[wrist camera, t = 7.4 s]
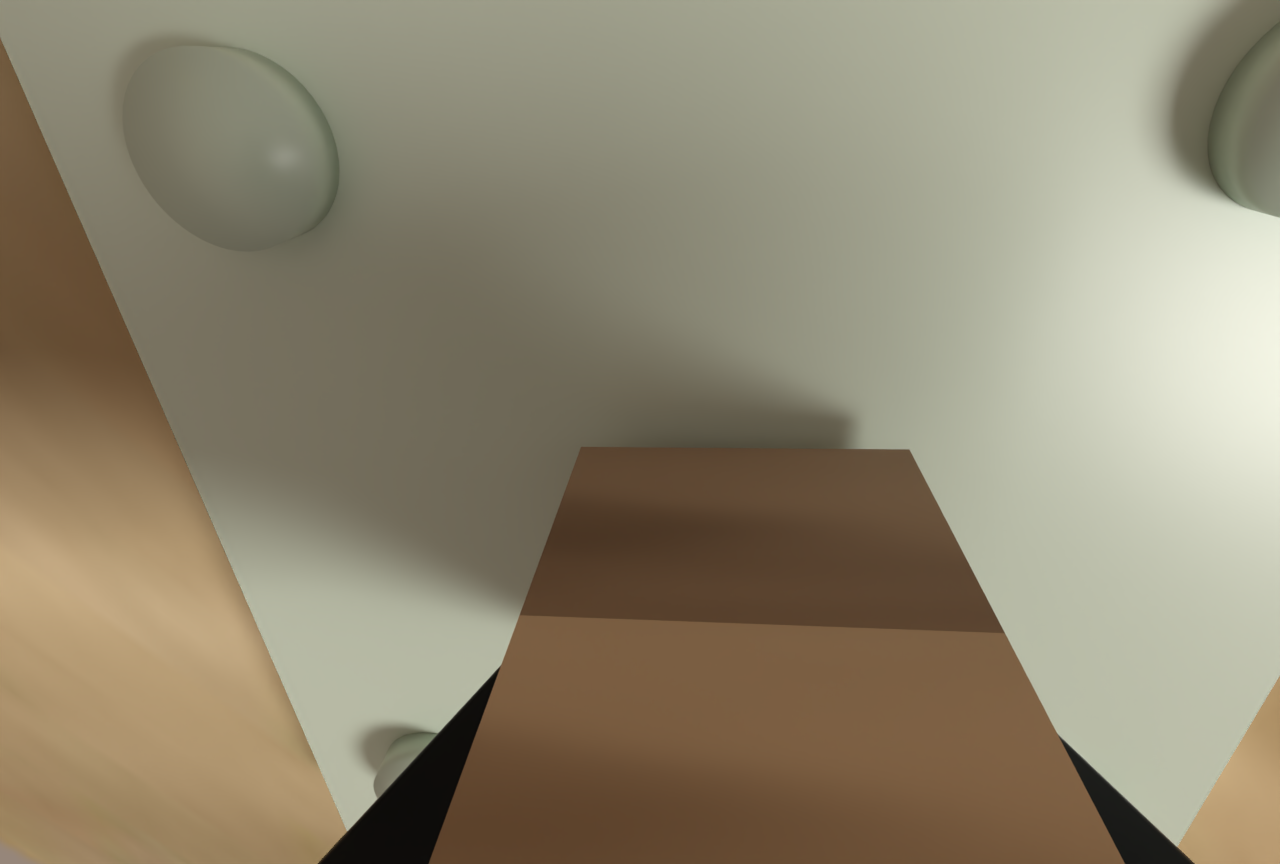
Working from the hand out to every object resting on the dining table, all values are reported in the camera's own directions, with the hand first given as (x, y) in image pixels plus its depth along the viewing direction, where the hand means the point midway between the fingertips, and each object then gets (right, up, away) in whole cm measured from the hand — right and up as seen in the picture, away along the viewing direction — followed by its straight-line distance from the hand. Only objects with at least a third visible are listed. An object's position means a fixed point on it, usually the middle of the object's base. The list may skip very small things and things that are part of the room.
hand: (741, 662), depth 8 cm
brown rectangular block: (0, +1, +1) cm, 2 cm away
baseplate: (0, +2, +3) cm, 3 cm away
